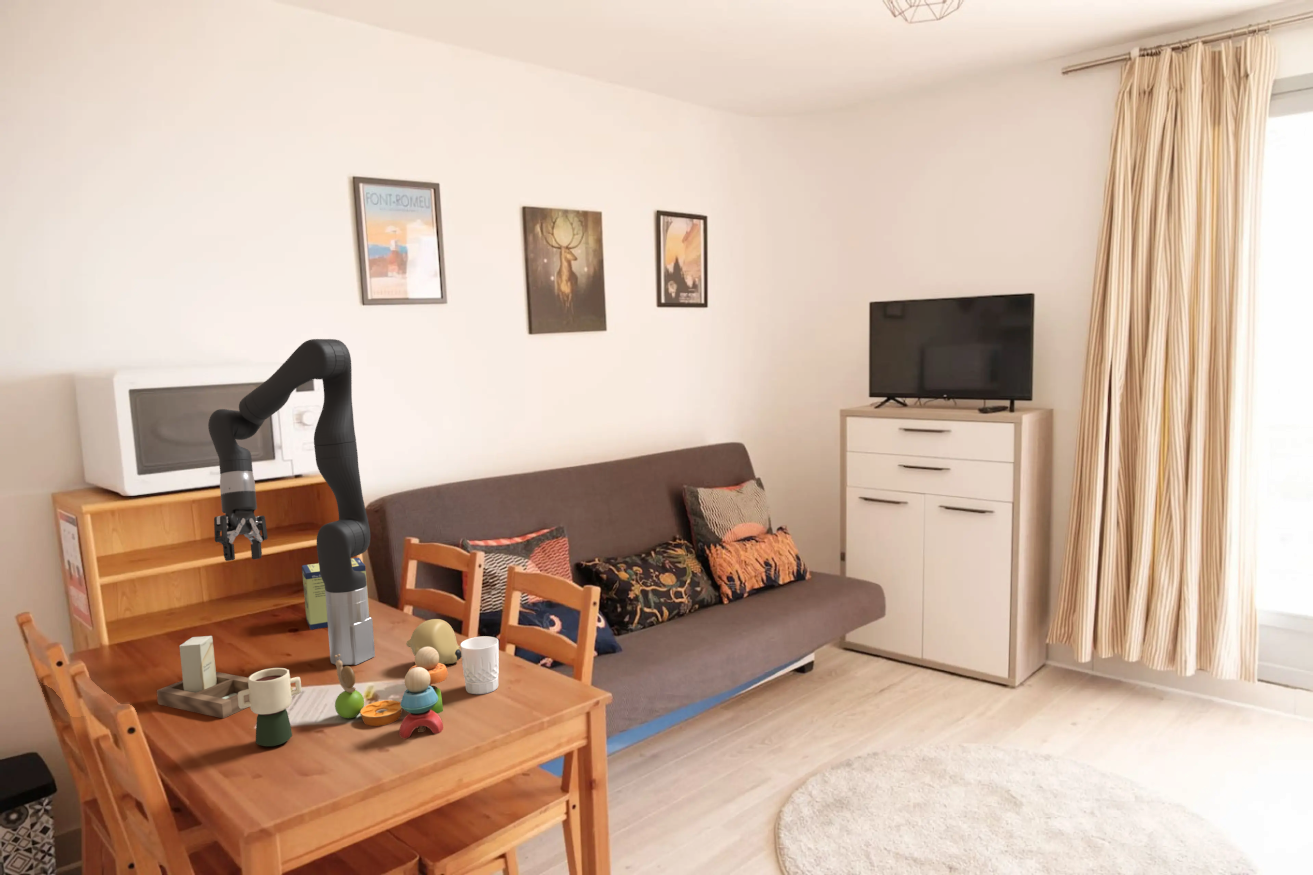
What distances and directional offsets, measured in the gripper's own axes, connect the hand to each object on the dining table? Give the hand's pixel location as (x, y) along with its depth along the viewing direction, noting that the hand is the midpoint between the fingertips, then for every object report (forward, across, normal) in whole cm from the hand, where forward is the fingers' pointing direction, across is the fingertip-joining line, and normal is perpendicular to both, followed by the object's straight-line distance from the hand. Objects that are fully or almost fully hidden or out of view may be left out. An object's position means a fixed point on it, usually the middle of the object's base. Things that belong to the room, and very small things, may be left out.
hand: (243, 559), depth 201 cm
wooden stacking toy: (+38, -19, -51) cm, 67 cm away
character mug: (+37, -32, -31) cm, 58 cm away
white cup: (+36, -1, -59) cm, 69 cm away
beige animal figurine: (+31, +10, -42) cm, 53 cm away
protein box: (+18, +35, +2) cm, 40 cm away
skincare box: (+29, -16, -1) cm, 33 cm away
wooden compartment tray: (+30, -17, -5) cm, 35 cm away
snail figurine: (+36, -19, -39) cm, 56 cm away
